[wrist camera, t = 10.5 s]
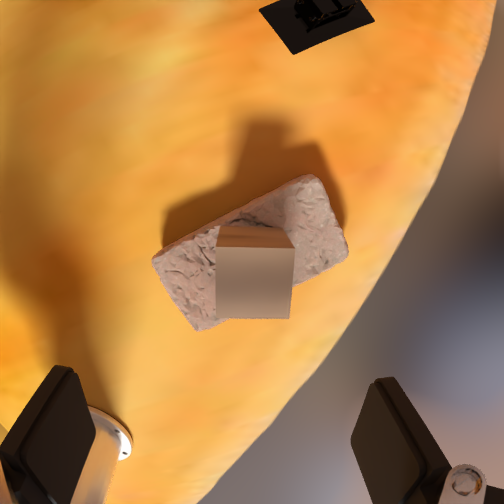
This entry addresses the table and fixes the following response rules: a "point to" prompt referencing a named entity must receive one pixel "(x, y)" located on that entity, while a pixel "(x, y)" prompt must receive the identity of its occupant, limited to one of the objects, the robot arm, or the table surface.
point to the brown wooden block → (253, 273)
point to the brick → (253, 215)
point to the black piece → (314, 20)
